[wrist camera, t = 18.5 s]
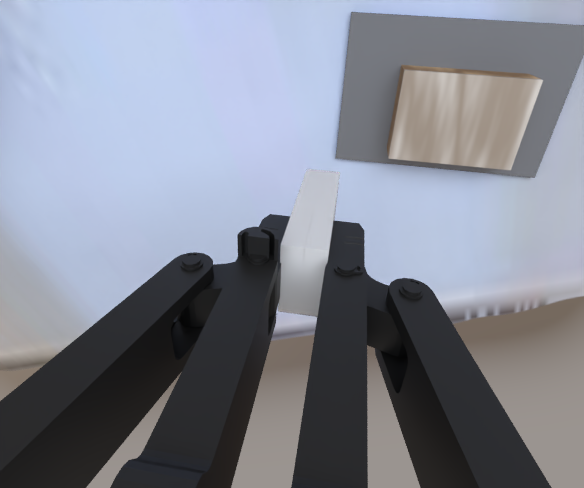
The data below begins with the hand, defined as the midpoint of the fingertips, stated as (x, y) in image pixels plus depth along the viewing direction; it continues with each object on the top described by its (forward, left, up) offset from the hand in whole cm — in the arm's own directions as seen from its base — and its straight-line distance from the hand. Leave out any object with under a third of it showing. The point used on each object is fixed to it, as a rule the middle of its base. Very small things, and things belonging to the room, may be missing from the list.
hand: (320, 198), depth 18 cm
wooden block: (+5, 0, -18) cm, 19 cm away
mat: (+9, +1, -20) cm, 22 cm away
